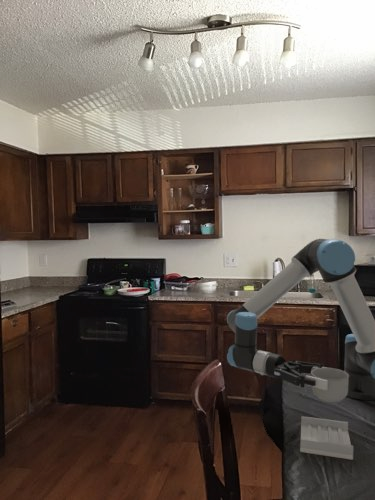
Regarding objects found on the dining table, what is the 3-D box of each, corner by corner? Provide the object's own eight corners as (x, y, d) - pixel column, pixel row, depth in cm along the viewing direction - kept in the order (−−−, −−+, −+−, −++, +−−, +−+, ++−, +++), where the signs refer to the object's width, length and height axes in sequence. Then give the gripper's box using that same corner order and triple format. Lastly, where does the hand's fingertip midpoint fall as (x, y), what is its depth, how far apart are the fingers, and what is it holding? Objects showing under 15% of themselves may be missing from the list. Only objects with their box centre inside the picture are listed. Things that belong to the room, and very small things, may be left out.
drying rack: (301, 427, 136) (301, 416, 136) (347, 433, 132) (348, 422, 132) (300, 451, 121) (300, 439, 121) (352, 459, 117) (353, 446, 117)
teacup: (354, 405, 124) (356, 378, 124) (319, 406, 122) (320, 378, 122) (332, 388, 138) (333, 363, 137) (300, 388, 136) (301, 364, 136)
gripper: (286, 367, 150) (348, 382, 136) (250, 384, 133) (318, 404, 119) (286, 346, 150) (349, 359, 136) (251, 360, 133) (319, 377, 118)
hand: (335, 380), depth 127 cm, fingers closed on teacup, 11 cm apart
